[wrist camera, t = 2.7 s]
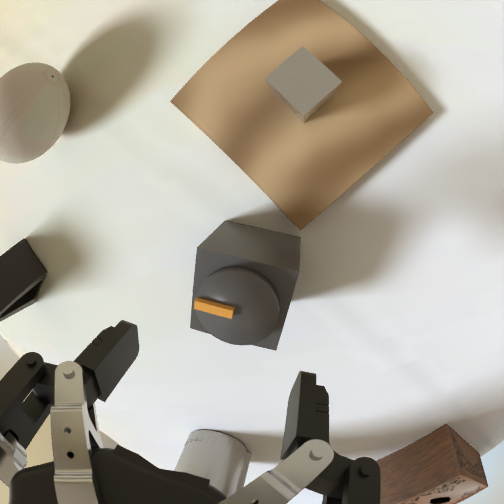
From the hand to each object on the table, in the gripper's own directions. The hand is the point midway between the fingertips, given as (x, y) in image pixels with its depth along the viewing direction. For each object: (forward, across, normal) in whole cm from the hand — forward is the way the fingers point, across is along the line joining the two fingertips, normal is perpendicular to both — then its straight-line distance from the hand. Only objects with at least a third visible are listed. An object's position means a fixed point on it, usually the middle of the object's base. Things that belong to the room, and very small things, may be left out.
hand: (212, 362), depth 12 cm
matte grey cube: (+11, -1, -14) cm, 17 cm away
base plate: (+12, -1, -14) cm, 18 cm away
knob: (+12, 0, 0) cm, 12 cm away
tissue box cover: (+12, -40, +32) cm, 53 cm away
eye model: (+13, +24, -11) cm, 29 cm away
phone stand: (+12, +31, +10) cm, 35 cm away
